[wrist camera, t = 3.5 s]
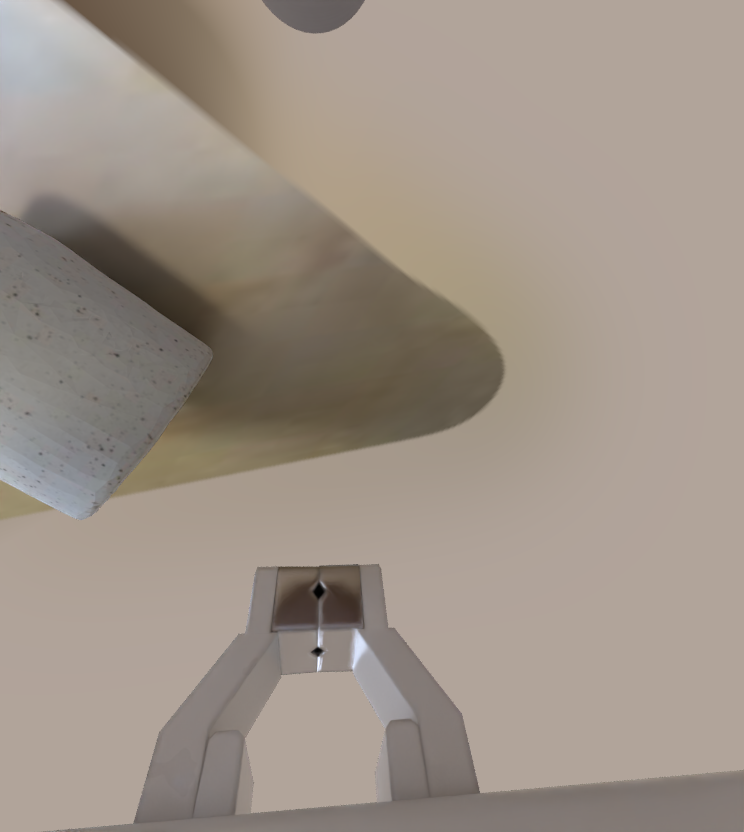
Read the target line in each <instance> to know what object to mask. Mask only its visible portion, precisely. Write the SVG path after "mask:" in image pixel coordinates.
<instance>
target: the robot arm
mask: <svg viewBox="0 0 744 832" xmlns="http://www.w3.org/2000/svg"><path fill="white" fill-rule="evenodd" d="M317 667H318V672H340V671H341V672H343V671H353V674H354V676H355V678H356V679H357V681H358V683H359V685H360V686H361V688H362V690H363V692H364V693H365V695H366V697H367V698H368V700H369V702H370V703H371V705H372V707H373V709H374V711H375V712H376V714H377V716H378V718H379V719H380V721H381V723H382V724H383V726H384V728H385V733H384V737H383V741H382V745H381V750H380V754H379V758H378V762H377V767H376V771H375V778H376V794H377V802H375V803H365V804H353V805H341V806H330V807H318V808H307V809H296V810H284V811H273V812H261V813H251V804H252V793H253V784H254V782H253V777H252V772H251V767H250V762H249V757H248V753H247V747H246V742H245V737H246V736H247V734H248V733H249V731H250V729H251V728H252V726H253V724H254V722H255V721H256V719H257V717H258V716H259V714H260V712H261V711H262V709H263V707H264V706H265V704H266V702H267V700H268V699H269V697H270V695H271V694H272V692H273V690H274V689H275V687H276V685H277V684H278V682H279V680H280V679H281V675H287V674H300V673H312V672H317ZM46 832H744V770H740V771H728V772H716V773H705V774H693V775H682V776H671V777H659V778H648V779H637V780H625V781H614V782H603V783H591V784H580V785H568V786H557V787H546V788H535V789H523V790H511V791H500V792H489V793H480V791H479V787H478V782H477V778H476V774H475V769H474V765H473V760H472V756H471V751H470V747H469V743H468V738H467V734H466V730H465V726H464V721H463V717H462V713H461V712H460V711H459V710H458V708H457V707H456V706H455V705H454V703H453V702H452V701H451V699H450V698H449V697H448V696H447V694H446V693H445V692H444V690H443V689H442V688H441V687H440V686H439V684H438V683H437V682H436V680H435V679H434V678H433V676H432V675H431V674H430V673H429V671H428V670H427V669H426V668H425V666H424V665H423V664H422V662H421V661H420V660H419V659H418V658H417V656H416V655H415V654H414V652H413V651H412V650H411V648H410V647H409V646H408V645H407V643H406V642H405V641H404V639H403V638H402V637H401V636H400V634H399V633H398V632H397V631H396V629H395V628H388V622H387V613H386V605H385V597H384V589H383V581H382V573H381V568H380V566H379V564H372V565H358V564H356V565H355V564H353V565H328V566H319V567H257V570H256V573H255V577H254V583H253V589H252V595H251V601H250V607H249V614H248V620H247V626H246V632H245V634H238V636H237V637H236V638H235V640H233V642H232V643H231V644H230V646H229V647H228V648H227V649H226V650H225V652H224V653H223V654H222V655H221V657H220V658H219V659H218V660H217V662H216V663H215V664H214V665H213V667H212V668H211V669H210V670H209V671H208V673H207V674H206V675H205V677H204V678H203V679H202V680H201V681H200V683H199V684H198V685H197V686H196V688H195V689H194V690H193V691H192V693H191V694H190V695H189V696H188V698H187V699H186V700H185V701H184V703H183V704H182V705H181V706H180V707H179V709H178V710H177V711H176V712H175V714H174V715H173V716H172V717H171V719H170V720H169V721H168V722H167V724H166V725H165V726H164V727H163V729H162V730H161V731H160V732H159V735H158V738H157V742H156V746H155V749H154V753H153V756H152V760H151V763H150V767H149V771H148V774H147V778H146V781H145V784H144V788H143V792H142V795H141V799H140V802H139V806H138V809H137V813H136V817H135V820H134V823H133V824H125V825H114V826H103V827H91V828H79V829H68V830H57V831H46Z"/></svg>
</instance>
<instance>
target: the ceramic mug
mask: <svg viewBox="0 0 744 832" xmlns="http://www.w3.org/2000/svg"><path fill="white" fill-rule="evenodd" d="M212 358H213V352H212V350H211V349H210V348H209V347H208V346H207V345H206V344H204V343H203V342H201V341H200V340H199V339H197V338H196V337H194V336H193V335H191V334H190V333H188V332H187V331H185V330H184V329H182V328H181V327H180V326H178V325H177V324H175V323H174V322H172V321H171V320H169V319H168V318H166V317H165V316H163V315H162V314H160V313H159V312H157V311H156V310H155V309H153V308H152V307H151V306H149V305H148V304H147V303H146V302H144V301H143V300H141V299H140V298H138V297H137V296H135V295H134V294H132V293H131V292H129V291H128V290H127V289H125V288H124V287H122V286H121V285H119V284H118V283H116V282H115V281H113V280H112V279H110V278H109V277H107V276H106V275H104V274H103V273H102V272H100V271H99V270H97V269H96V268H95V267H93V266H92V265H91V264H89V263H88V262H87V261H85V260H84V259H83V258H81V257H80V256H79V255H77V254H76V253H74V252H73V251H72V250H70V249H69V248H68V247H66V246H65V245H63V244H62V243H60V242H59V241H57V240H56V239H54V238H53V237H51V236H49V235H47V234H45V233H44V232H42V231H40V230H38V229H36V228H34V227H32V226H30V225H29V224H27V223H25V222H23V221H22V220H19V219H17V218H15V217H13V216H11V215H9V214H7V213H5V212H3V211H0V480H2V481H4V482H6V483H8V484H9V485H11V486H13V487H15V488H17V489H19V490H21V491H23V492H24V493H26V494H28V495H30V496H32V497H34V498H36V499H38V500H40V501H41V502H43V503H45V504H47V505H49V506H51V507H53V508H55V509H57V510H59V511H60V512H62V513H65V514H67V515H69V516H71V517H73V518H76V519H79V520H83V519H85V518H87V517H90V516H92V515H93V514H94V513H95V512H97V511H98V509H99V508H100V507H101V506H102V505H103V504H104V503H105V502H106V501H107V500H108V499H109V498H110V496H111V494H113V493H114V492H115V491H116V490H117V488H118V487H119V486H120V485H121V483H122V482H123V481H124V480H125V479H126V477H127V476H128V475H129V474H130V473H131V472H132V471H133V470H134V468H135V467H136V466H137V465H138V464H139V463H140V461H141V460H142V459H143V458H144V457H145V456H146V454H147V453H148V452H149V451H150V449H151V448H152V447H153V446H154V444H155V443H156V442H157V440H158V439H159V438H160V436H161V435H162V433H163V432H164V430H165V429H166V427H167V425H168V424H169V422H170V421H171V420H172V419H173V417H174V416H175V415H176V414H177V413H178V411H179V410H180V409H181V407H182V406H183V404H184V403H185V401H186V400H187V398H188V397H189V395H190V394H191V392H192V390H193V389H194V388H195V386H196V385H197V383H198V382H199V380H200V379H201V377H202V375H203V373H204V372H205V371H206V369H207V367H208V365H209V364H210V362H211V360H212Z"/></svg>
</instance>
